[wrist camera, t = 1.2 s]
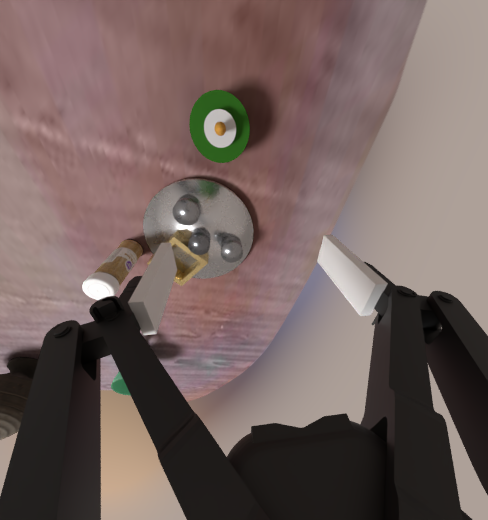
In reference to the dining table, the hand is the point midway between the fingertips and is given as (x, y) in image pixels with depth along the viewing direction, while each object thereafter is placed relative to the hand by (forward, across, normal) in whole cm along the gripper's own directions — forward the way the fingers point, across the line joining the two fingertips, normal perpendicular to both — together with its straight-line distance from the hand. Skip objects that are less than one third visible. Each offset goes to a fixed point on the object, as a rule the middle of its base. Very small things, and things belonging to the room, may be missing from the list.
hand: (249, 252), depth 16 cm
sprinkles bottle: (+24, -22, -12) cm, 34 cm away
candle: (+24, -2, +9) cm, 26 cm away
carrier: (+24, -7, -9) cm, 26 cm away
